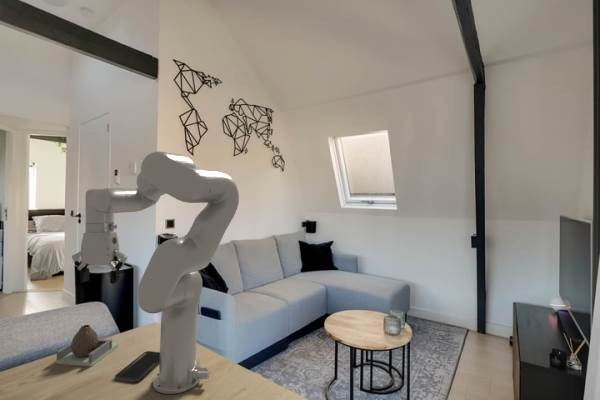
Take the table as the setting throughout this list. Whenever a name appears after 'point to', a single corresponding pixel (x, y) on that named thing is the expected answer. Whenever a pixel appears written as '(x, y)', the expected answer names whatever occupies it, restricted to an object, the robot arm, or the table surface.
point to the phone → (139, 367)
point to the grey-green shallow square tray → (95, 356)
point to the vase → (84, 341)
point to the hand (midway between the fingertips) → (99, 282)
